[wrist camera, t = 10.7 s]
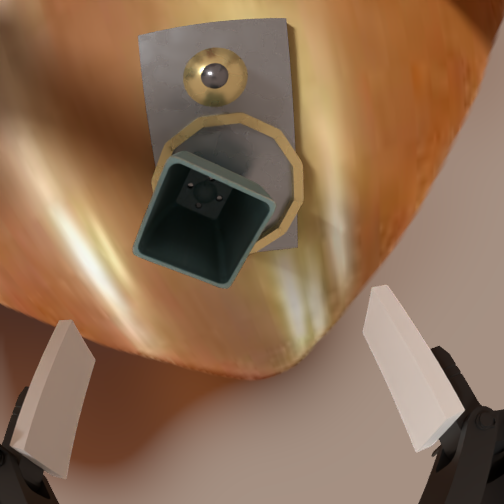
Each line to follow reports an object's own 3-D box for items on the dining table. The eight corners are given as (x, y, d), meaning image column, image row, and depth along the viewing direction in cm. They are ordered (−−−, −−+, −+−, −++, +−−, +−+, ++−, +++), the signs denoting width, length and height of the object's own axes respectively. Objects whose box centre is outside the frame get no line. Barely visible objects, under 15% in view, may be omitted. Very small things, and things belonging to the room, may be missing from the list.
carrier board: (173, 256, 35) (163, 298, 28) (136, 38, 22) (109, 25, 16) (299, 241, 36) (317, 280, 29) (288, 20, 23) (309, 1, 16)
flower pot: (264, 171, 30) (280, 204, 22) (226, 241, 33) (228, 292, 26) (184, 134, 27) (169, 153, 19) (151, 210, 31) (130, 254, 23)
